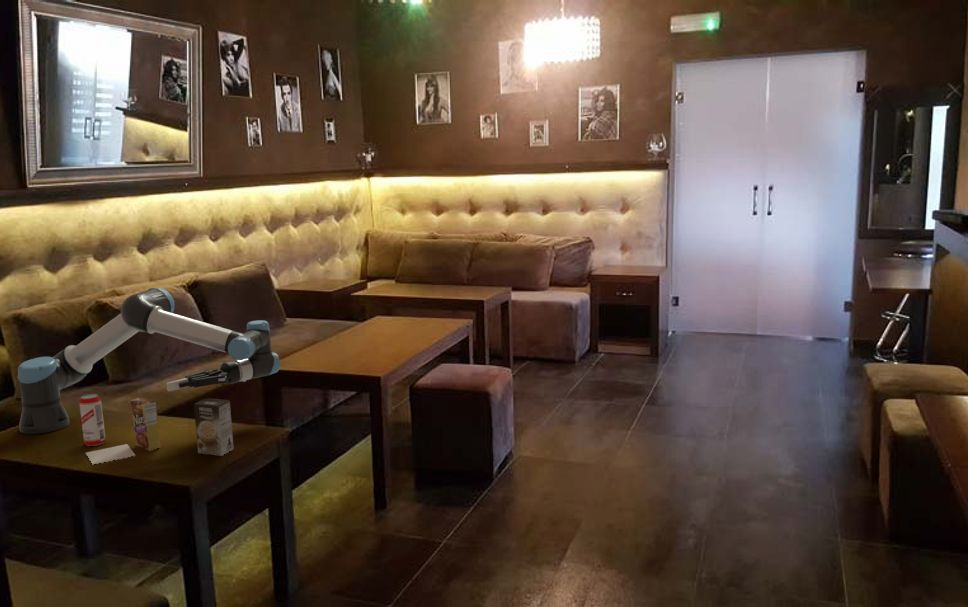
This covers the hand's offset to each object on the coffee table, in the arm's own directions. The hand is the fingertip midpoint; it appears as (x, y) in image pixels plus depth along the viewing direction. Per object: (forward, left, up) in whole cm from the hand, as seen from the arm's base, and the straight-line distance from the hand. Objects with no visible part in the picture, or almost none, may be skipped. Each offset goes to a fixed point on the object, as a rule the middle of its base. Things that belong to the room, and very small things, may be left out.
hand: (167, 387), depth 253 cm
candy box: (+1, -8, -18) cm, 20 cm away
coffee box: (+19, +8, -18) cm, 28 cm away
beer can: (-13, -21, -18) cm, 30 cm away
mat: (+1, -19, -18) cm, 26 cm away
